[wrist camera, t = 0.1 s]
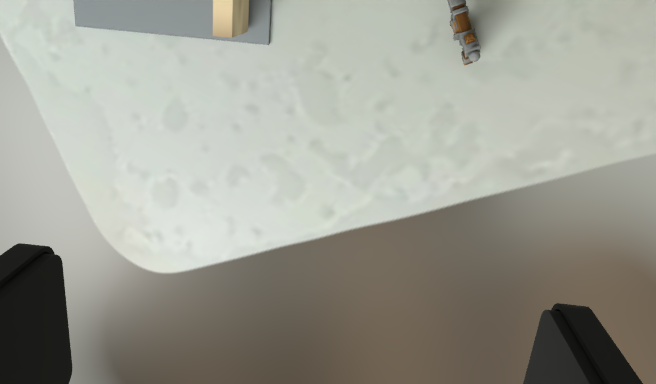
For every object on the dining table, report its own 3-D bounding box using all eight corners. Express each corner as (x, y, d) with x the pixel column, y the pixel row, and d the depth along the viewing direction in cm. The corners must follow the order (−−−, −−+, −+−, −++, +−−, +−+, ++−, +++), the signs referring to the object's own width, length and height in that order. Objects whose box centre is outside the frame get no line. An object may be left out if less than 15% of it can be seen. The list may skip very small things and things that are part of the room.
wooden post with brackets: (460, 79, 38) (462, 62, 34) (425, -25, 39) (423, -56, 35) (485, 71, 38) (491, 52, 33) (450, -35, 39) (451, -67, 34)
